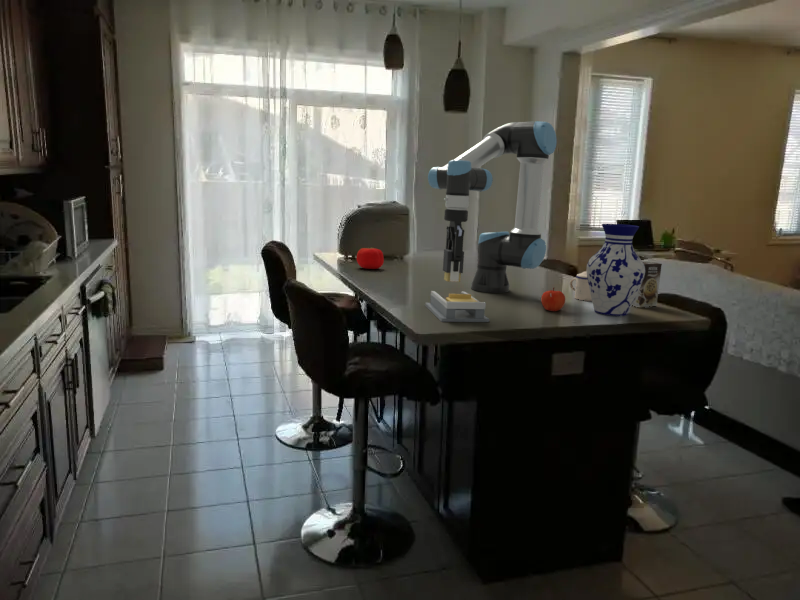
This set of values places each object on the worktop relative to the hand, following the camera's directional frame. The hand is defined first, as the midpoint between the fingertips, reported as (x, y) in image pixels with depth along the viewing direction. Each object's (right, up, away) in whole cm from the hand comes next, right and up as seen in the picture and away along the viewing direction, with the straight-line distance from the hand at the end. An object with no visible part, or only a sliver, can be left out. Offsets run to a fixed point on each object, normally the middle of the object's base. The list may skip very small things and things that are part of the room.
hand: (451, 279), depth 211 cm
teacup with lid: (+53, -6, +34) cm, 63 cm away
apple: (+35, -10, +8) cm, 37 cm away
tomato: (-31, +8, +87) cm, 93 cm away
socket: (+1, -11, -5) cm, 12 cm away
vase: (+55, -11, +9) cm, 57 cm away
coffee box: (+72, -9, +24) cm, 76 cm away
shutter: (+2, -8, -12) cm, 15 cm away
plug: (0, 0, 0) cm, 0 cm away
